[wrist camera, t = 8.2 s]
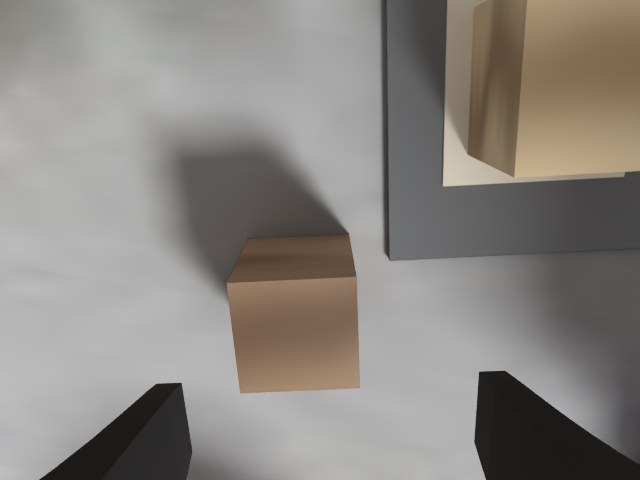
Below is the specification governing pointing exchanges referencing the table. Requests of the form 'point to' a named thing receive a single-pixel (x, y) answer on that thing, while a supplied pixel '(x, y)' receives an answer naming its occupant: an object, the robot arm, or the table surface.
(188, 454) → the robot arm
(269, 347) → the walnut block
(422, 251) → the gray rectangular panel
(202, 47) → the table surface
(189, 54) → the table surface
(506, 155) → the oak block
